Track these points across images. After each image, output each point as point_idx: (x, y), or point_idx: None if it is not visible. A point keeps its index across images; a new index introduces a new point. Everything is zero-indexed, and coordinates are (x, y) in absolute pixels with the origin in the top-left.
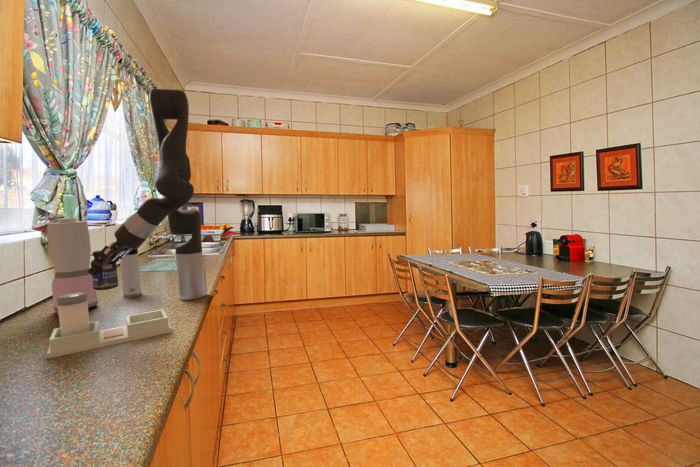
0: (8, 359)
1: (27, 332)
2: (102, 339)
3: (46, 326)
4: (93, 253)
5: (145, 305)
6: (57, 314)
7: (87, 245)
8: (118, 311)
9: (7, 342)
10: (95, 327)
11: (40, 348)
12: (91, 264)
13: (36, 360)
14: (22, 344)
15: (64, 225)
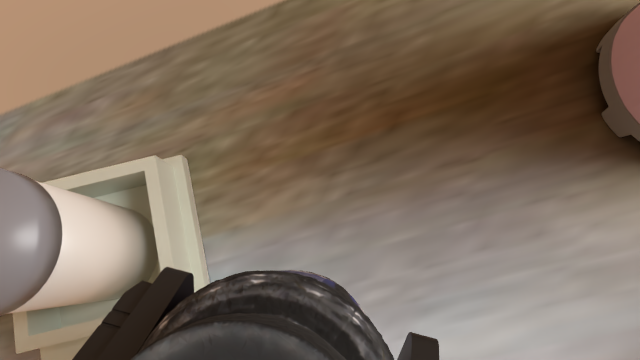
0: (101, 80)
1: (382, 19)
2: (77, 349)
3: (436, 55)
4: (143, 350)
5: None
6: (606, 33)
7: None
8: (567, 294)
9: (287, 3)
10: (75, 328)
11: (160, 135)
12: (192, 294)
13: (41, 168)
14: (238, 59)
15: None
